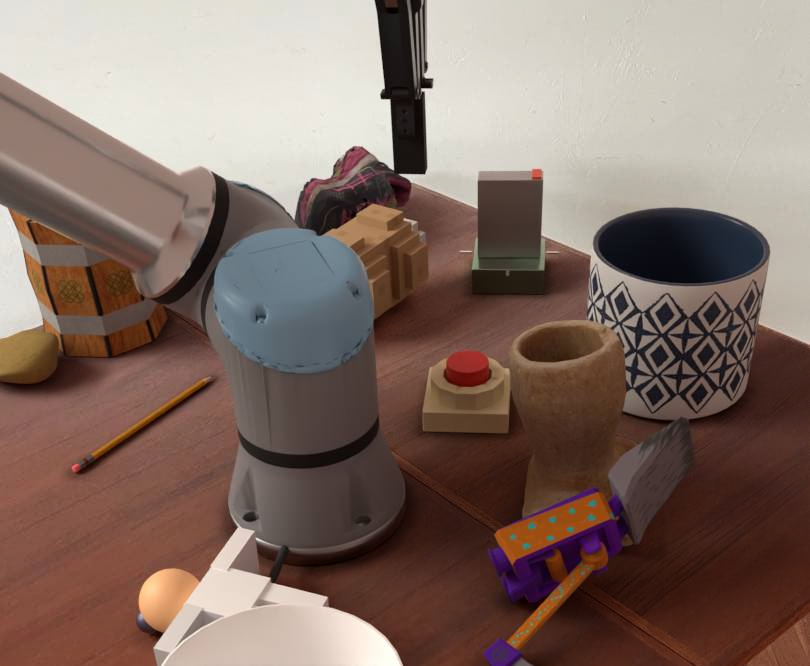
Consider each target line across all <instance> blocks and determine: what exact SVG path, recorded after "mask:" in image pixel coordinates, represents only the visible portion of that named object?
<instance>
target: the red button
mask: <svg viewBox="0 0 810 666" xmlns="http://www.w3.org/2000/svg"><path fill="white" fill-rule="evenodd" d="M487 357H488V356H487V355H486V354H484V353H482V352H480V351H475V350H461V351H460V350H459V351H456V352H453V353H452V354H450V355H449V356H448V357H447V358H448V359H447V361H446V376H447V380H448V382H449V383H450V384H453V385H456V386H459V387H475V386H478V385H482V384H485V383H486V382H487V381H488V378H489V360H488V358H489V357H488V358H487Z"/></svg>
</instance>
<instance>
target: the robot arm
mask: <svg viewBox="0 0 810 666" xmlns="http://www.w3.org/2000/svg"><path fill="white" fill-rule="evenodd" d="M374 5H375V10H376V16H377V18H376V19H377V27H378V36H379V37H378V38H379V45H380V55H381V65H382V74H383V84H384V88H382V89H381V91H380V94H379V96H380V97H379V98H380V100H389V103H390V104H389V105H390V106H389V107H390V123H391V140H392V143H391V144H392V158H393V159H392V160H393V170H394V174H399V175H426V173H427V170H428V143H427V115H426V112H427V111H426V91H425V89H427V90H428V89H430V90H431V89H432V90H433V88H434V80H435V79H434V78H433V77H432V78H431V77H429V78H428V77H427V78H426V75H425V74H427V72H428V69H429V62H428V0H374ZM0 206H3V207H5V208H6V209H8V208H9V209H11V210H13V211H15V212H17V213H19V214H21V215H23V216H25V217H27V218H29V219H31V220H33V221H35V222H37V223H39V224H41V225H43V226H45V227H47V228H49V229H51V230H53V231H55V232H57V233H59V234H61V235H63V236H65V237H67V238H69V239H71V240H73V241H75V242H77V243H79V244H81V245H83V246H85V247H87V248H89V249H91V250H93V251H95V252H97V253H99V254H101V255H103V256H105V257H107V258H109V259H111V260H113V261H116V262H118V263H120V264H122V265H124V266H126V267H128V268H129V269H130V272H131V275H132V278H133V281H134V284H135V287H136V289H137V291H138V292H139V293H140V294H141V295H143V296H145V297H147V298H149V299H151V300H153V301H155V302H157V303H159V304H162V305H164V306H165V307H166V308H168V309H170V310H171V311H174V312H176V313H178V314H180V315H182V316H184V317H185V318H188V319H190V320H191V321H193V322H195V323H197V325H199V326H201V328H202V329H203V331H204V333H205V335H206V337H207V339H208V341H210V343H211V345H212V347H213V348H214V350H215V352H216V353H217V356H218V357H219V358H220V360H221V362H222V364H223V366H224V369H225V371H226V375H227V379H228V382H229V387H230V394H231V399H232V405H233V411H234V416H235V417H234V418H235V423H236V428H237V435H238V440H239V444H238V447H237V453H236V459H235V462H234V467H233V468H234V469H233V473H232V477H231V481H230V486H229V491H228V497H227V501H228V502H227V504H228V510H229V517H230V521H231V527H232V529H233V531H234V532H235V531H236V530H237V528H238V527H240V528H244V529H248V530H253V531H255V538H256V546H257V554H258V555H260V556H262V557H264V558H267V559H270V560H272V561H274V562H273V565H272V567H271V570H270V572H269V574H268V577H269V578H271V583H274V584H277V581H278V578H279V575H280V573H281V570H282V568H283V567H284V566H283V565H284V563H285V564H291V565H302V566H317V565H318V566H319V565H326V564H334V563H339V562H344V561H347V560H350V559H353V558H356V557H359V556H361V555H363V554H366V553H368V552H369V551H372V550H373V549H375V548H377V547H378V546H380V545H382V544H383V543H384V542H385V541H387V540H388V539H390V537H391V536H392V535H393V534H394V533H395V532H396V531H397V529H398V528H399V526H400V525H401V523H402V521H403V519H404V516H405V515H406V509H407V493H406V481H405V478H404V476H403V473H402V471H401V468H400V467H399V464H398V462H397V460H396V458H395V455H394V454H393V451H392V449H391V448H390V445H389V443H388V441H387V439H386V436H385V434H384V433H383V431H382V428H381V424H380V412H379V410H380V409H379V390H378V377H377V376H378V375H377V361H376V359H377V358H376V343H375V328H374V327H375V326H374V320H375V319H374V301H373V299H372V292H371V289H370V286H369V280H368V275H367V272H366V269H365V266H364V264H363V262H362V261H361V259H360V258H359V256H358V255H357V254H356V253H355V252H354V251H353V250H352V249H351V248H350V247H349V246H348V245H347V244H345V243H343V242H342V241H340V240H339V239H337V238H335V237H332V236H330V235H327V234H325V235H322V236H317V234H316V232H315V231H313V230H308V229H299V227H298V226H297V224H296V222H295V221H294V220H295V218H294V217H293V216H292V215H291V213H289V212H288V211H287V210H286V208H285V206H284V205H282V204H281V203H280V202H279V201H278V200H277V199H276V198H275V197H273V196H272V195H270V194H269V193H267V192H265V191H264V190H262V189H259V188H257V187H256V186H253V185H251V184H249V183H245V182H242V181H238V180H230V179H226V178H224V177H223V176H221V175H219V174H217V173H215V172H214V171H212V170H210V169H209V168H207V167H205V166H202V165H199V164H198V165H197V164H196V165H191V166H189V167H186V168H182V169H180V170H172V169H171V168H169V167H167V166H166V165H164V164H162V163H161V162H159V161H157V160H156V159H154V158H152V157H151V156H149V155H147V154H145V153H143V152H142V151H140V150H138V149H136V148H135V147H133V146H131V145H129V144H127V143H126V142H124V141H122V140H121V139H119V138H117V137H115V136H114V135H112V134H110V133H108V132H107V131H105V130H104V129H102V128H100V127H98V126H97V125H95V124H93V123H91V122H89V120H88V121H87V120H86V119H84V118H82V117H81V116H79V115H77V114H75V113H74V112H72V111H70V110H68V109H67V108H65V107H63V106H62V105H60V104H58V103H56V102H54V101H53V100H52V99H49V98H47V97H46V96H44V95H42V94H40V92H37V91H35V90H34V89H32V88H30V87H29V86H27V85H25V84H23V83H22V82H20V81H18V80H16V79H15V78H13V77H12V76H10V75H8V74H6V73H4V72H3V71H1V70H0Z"/></svg>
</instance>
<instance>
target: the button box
mask: <svg viewBox="0 0 810 666" xmlns="http://www.w3.org/2000/svg"><path fill="white" fill-rule="evenodd" d="M486 357H487V358H488V360H489V378H488V381H487V382H486V383H485V384H482V385H478V386H475V387H459V386H456V385H453V384H450V383H449V382H448V380H447V376H446V361H447V359H448V357H446V358H443V359H441V360H440V361H439V362H438V363H436V364H435V365H434V366H430V367H429V370H428V376H427V381H426V386H425V387H426V388H425V393H424V399H423V404H422V405H423V406H422V412H421V415H422V417H421V419H422V431H423V432H428V433H429V432H430V433H431V432H435V433H436V432H437V433H469V434H470V433H471V434H472V433H473V434H474V433H476V434H509V424H510V423H509V422H510V406H511V405H510V404H511V387H510V372H509V367H508V368H507V367H503V366H502V365H501V364H500V363H499V362H498V361H497V360H496V359H494V358H491V357H488V356H486Z"/></svg>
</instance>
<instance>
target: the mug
mask: <svg viewBox="0 0 810 666" xmlns="http://www.w3.org/2000/svg"><path fill="white" fill-rule="evenodd" d="M7 209H8V212H9V215H10V217H11V219H12V222H13V224H14V226H15V229H16V231H17V235H18V238H19V242H20V246H21V248H22V253H23V258H24V263H25V269H26V275H27V277H28V281H29V283H30V285H31V287H32V290H33V292H34V295H35V298H36V300H37V304H38V307H39V310H40V314H41V318H42V325H43V331H45V332H50V333H53V334H55V335H56V336H57V338H58V340H59V348H58V352H60V353H61V354H62V355H63V356H65V357H91V358H93V357H95V358H113V357H116V356H118V355H120V354H123V353H126V352H128V351H131V350H133V349H135V348H139V347H141V346H143V345H146V344H148V343H149V344H150V343H151V342H154V341H156V339H157V337H158V336H159V335H160V332H161V331H162V329H163V327H164V326H165V323H166V322H167V320H168V319H169V317H170V315H169V312H168V309H167V307H166V306H164V305H162V304H159V303H157V302H155V301H153V300H151V299H149V298H147V297H145V296H143V295H141V294H140V293H139V292H138V291H137V289H136V287H135V284H134V281H133V278H132V275H131V272H130V269H129V268H128V267H126V266H124V265H122V264H120V263H118V262H116V261H113V260H111V259H109V258H107V257H105V256H103V255H101V254H99V253H97V252H95V251H93V250H91V249H89V248H87V247H85V246H83V245H81V244H79V243H77V242H75V241H73V240H71V239H69V238H67V237H65V236H63V235H61V234H59V233H57V232H55V231H53V230H51V229H49V228H47V227H45V226H43V225H41V224H39V223H37V222H35V221H33V220H31V219H29V218H27V217H25V216H23V215H21V214H19V213H17V212H15V211H13V210H11V209H9V208H7Z"/></svg>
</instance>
